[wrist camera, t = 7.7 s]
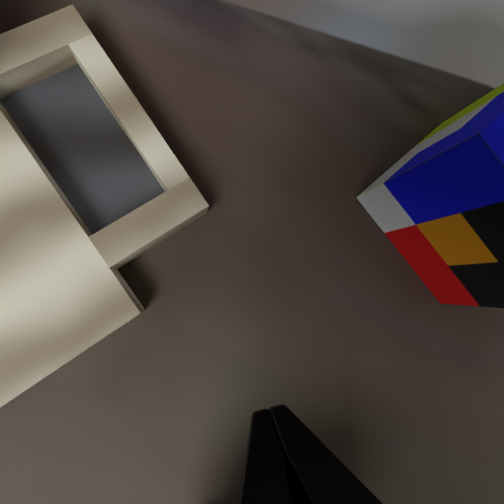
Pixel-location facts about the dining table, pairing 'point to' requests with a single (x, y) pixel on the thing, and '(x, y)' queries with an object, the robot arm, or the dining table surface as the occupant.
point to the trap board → (74, 196)
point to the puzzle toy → (450, 205)
